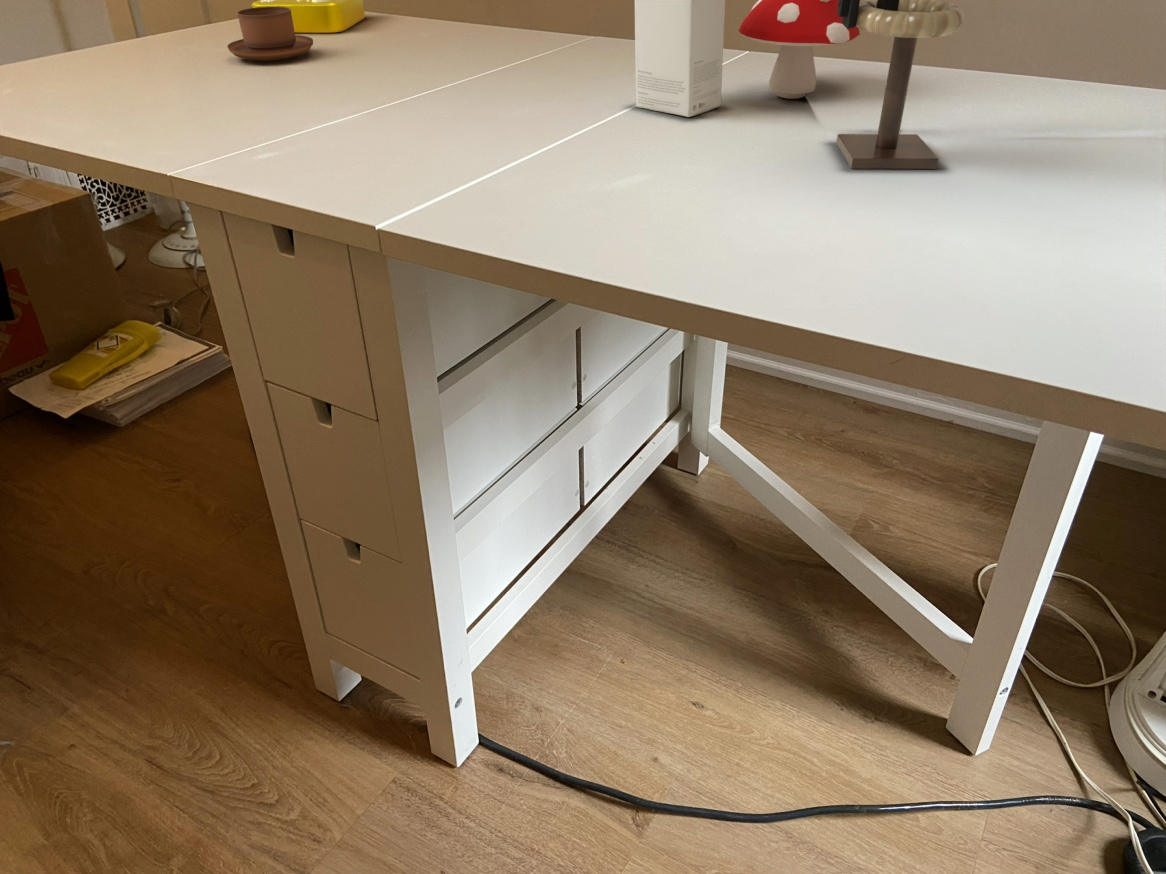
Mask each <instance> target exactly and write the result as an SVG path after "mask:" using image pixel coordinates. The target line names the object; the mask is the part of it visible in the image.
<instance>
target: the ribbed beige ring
mask: <svg viewBox="0 0 1166 874" xmlns="http://www.w3.org/2000/svg"><path fill="white" fill-rule="evenodd" d="M876 5H877V0H863V1H860V4H859V10H858V17H857V23H856V26H857V27H858V28H859V31H862V32H866V33H870V34H874V35H878V36H886V37H902V38H917V39H921V38H922V39H931V38H938V37H939V38H940V37H946V36H947V37H948V36H950V35H952V34H953V33H955V32H957V31H958V30H960V29H961V28H962V26H963V25H964V23H965V20H966V14H965V12H964V10H963V9H962V8H960V7H959V6H957V5H955V4H954V3H951V2H947V1H943V0H900V1H899V6H898V11H890V10H884V9H879V8H876Z"/></svg>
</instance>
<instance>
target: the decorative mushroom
mask: <svg viewBox="0 0 1166 874" xmlns="http://www.w3.org/2000/svg"><path fill="white" fill-rule="evenodd" d="M838 2H839V0H757V1H756V2H755V3H754V5H753V6H752V7H751V10H750V11H749V13H748V14H747V16H745V18H744V19H743V20H742V22H741V24H740V26H739V28H738V30H737V31H738V33H740V35H741V36H742V37H744V38H746V39H748V40H751V41H753V42H758V43H763V44H769V45H777V46H781V47H780V50H779V52H778V55H777V58H776V60H775V63H774V66H773V67H772V70H771V74H770V77H769V82H768V86H769V87H768V89H770V91H771V92H772V94H773V95H775V96H777V97H780V98H783V99H789V100H791V99H792V100H794V99H802V98H805V97H806V94H810V93H813V92H814V91H815V90H816V85H817V74H816V73H817V72H816V65H815V59H814V51H813V47H818V46H819V47H820V46H821V47H823V46H832V45H842V44H844V43H848V42H850V41H852V40H853V41H854V39H856V38H857V37H858V36H860V35H861V33H860V31H861V30H860V29H859V28H858V27H857V26H856V27H854V28H853V29H847V28H846V27H845V26H844V25H843V24H842V17H838V16H837V9H838Z"/></svg>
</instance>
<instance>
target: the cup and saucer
mask: <svg viewBox="0 0 1166 874" xmlns="http://www.w3.org/2000/svg"><path fill="white" fill-rule="evenodd" d="M237 18H238V22H239V26H240V31H241V35H242V38H241V39H237V40H234V41H231V42H230V43H228V44H227V49H228V51H229V52H230V53H231V54H232V55H234V56H235V57H238V58H241V59H245V60H252V61H262V62H263V61H264V62H265V61H278V60H285V59H290V58H294V57H297V56H301V55H302V54H306V52H309V50H310V49H311V48H312V46H313V45H314V39H313V38H312V37H310V36H306V35H299V34H296V33H295V31H294V26H293V20H292V14H291V9H290V8H287V7H256V8H252V7H251V8H245V9H241V10H238V11H237Z"/></svg>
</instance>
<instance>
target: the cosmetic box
mask: <svg viewBox="0 0 1166 874" xmlns="http://www.w3.org/2000/svg"><path fill="white" fill-rule="evenodd" d="M725 11H726V0H634V53H635V54H634V56H635V57H634V58H635V59H634V61H635V63H634V64H635V66H634V67H635V70H634V71H635V107H636V108H640V109H645V110H650V111H656V112H661V113H666V114H671V115H677V116H682V117H687V118H690V117H694V116H698V115H700V114H704V113H706V112H709V111H711V110H714V109H715V108H716V109H717V108H719V107H720V106H721V105H722V88H723V87H722V86H723V62H724V60H723V59H724V38H725V37H724V35H725V17H726V16H725V13H726V12H725Z"/></svg>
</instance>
